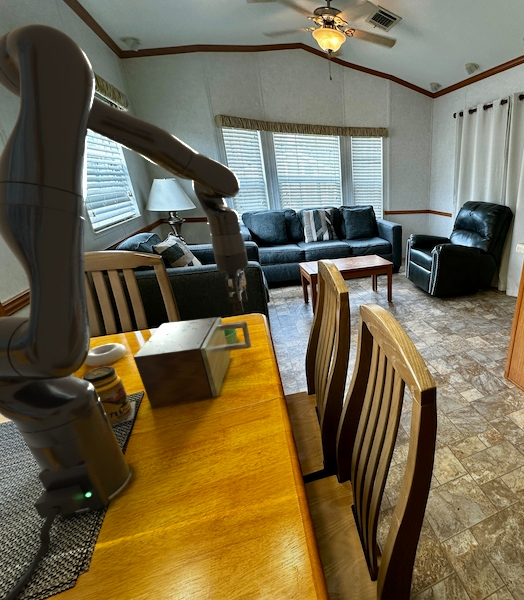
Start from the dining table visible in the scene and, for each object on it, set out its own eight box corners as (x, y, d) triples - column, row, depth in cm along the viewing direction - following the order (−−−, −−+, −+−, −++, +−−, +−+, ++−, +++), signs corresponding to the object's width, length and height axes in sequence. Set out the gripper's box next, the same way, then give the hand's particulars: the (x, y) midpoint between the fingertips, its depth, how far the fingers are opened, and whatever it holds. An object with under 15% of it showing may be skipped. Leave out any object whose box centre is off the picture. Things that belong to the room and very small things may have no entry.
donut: (91, 373, 91) (133, 356, 99) (86, 362, 90) (129, 346, 98) (79, 362, 96) (119, 347, 104) (74, 352, 95) (116, 338, 103)
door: (254, 355, 99) (246, 314, 94) (246, 391, 83) (236, 344, 78) (226, 359, 97) (216, 317, 92) (213, 397, 81) (200, 348, 76)
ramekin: (220, 336, 111) (217, 324, 109) (244, 338, 110) (242, 326, 108) (201, 349, 102) (198, 337, 101) (228, 351, 101) (225, 339, 100)
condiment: (133, 419, 74) (116, 374, 69) (83, 435, 70) (62, 388, 65) (136, 401, 80) (120, 359, 75) (90, 415, 75) (70, 371, 71)
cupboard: (225, 360, 97) (215, 317, 92) (212, 397, 81) (198, 348, 76) (176, 367, 93) (162, 323, 88) (151, 408, 77) (133, 357, 72)
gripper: (219, 245, 90) (231, 299, 96) (207, 258, 77) (221, 319, 84) (248, 243, 92) (258, 297, 98) (241, 255, 79) (253, 316, 86)
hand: (241, 307), depth 91 cm, fingers open, 8 cm apart
